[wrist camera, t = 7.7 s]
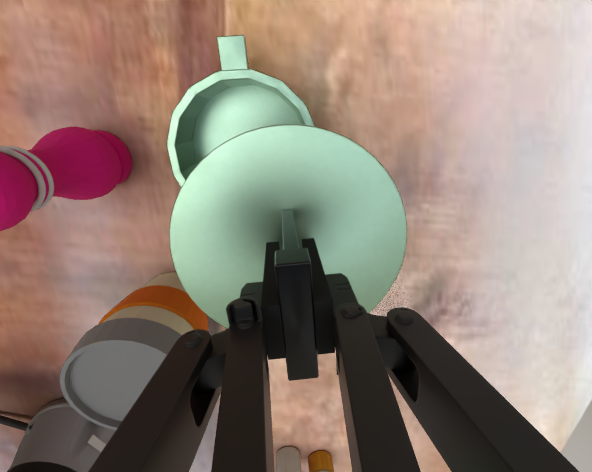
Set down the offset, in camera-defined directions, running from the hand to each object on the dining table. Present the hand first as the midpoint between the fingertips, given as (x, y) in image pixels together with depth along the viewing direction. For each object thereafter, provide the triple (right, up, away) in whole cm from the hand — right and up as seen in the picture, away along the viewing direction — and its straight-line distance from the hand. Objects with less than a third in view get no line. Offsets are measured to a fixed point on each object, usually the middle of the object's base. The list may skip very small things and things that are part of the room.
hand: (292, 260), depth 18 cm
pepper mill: (-22, +11, +17) cm, 30 cm away
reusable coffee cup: (-17, -7, +24) cm, 30 cm away
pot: (-5, +12, +17) cm, 21 cm away
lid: (0, +1, +2) cm, 2 cm away
